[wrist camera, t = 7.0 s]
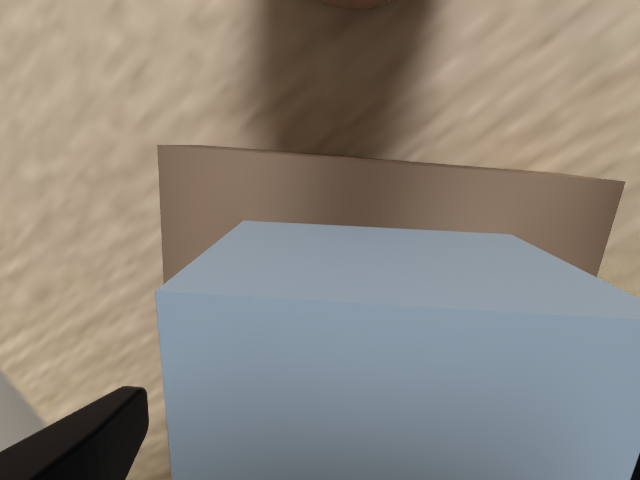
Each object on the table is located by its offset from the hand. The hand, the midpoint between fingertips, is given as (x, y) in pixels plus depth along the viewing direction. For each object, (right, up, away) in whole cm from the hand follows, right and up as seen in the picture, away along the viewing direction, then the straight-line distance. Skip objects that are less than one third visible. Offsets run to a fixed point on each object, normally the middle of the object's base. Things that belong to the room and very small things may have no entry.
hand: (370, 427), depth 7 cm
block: (0, +1, +2) cm, 2 cm away
